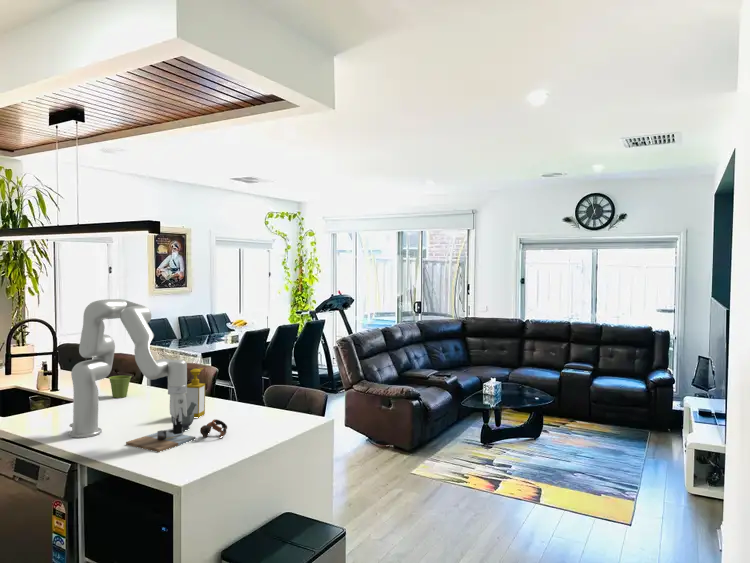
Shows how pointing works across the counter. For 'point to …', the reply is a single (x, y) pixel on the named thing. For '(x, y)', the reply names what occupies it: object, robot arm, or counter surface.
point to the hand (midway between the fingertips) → (177, 433)
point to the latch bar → (166, 434)
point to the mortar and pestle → (188, 417)
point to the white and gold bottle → (196, 394)
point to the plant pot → (119, 386)
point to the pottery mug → (207, 428)
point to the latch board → (159, 442)
